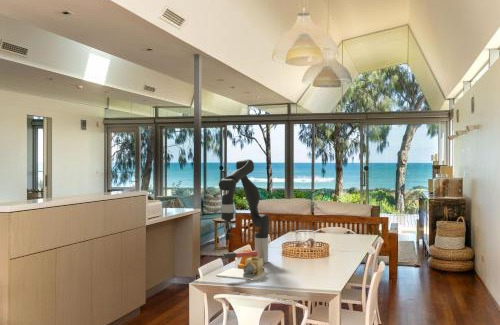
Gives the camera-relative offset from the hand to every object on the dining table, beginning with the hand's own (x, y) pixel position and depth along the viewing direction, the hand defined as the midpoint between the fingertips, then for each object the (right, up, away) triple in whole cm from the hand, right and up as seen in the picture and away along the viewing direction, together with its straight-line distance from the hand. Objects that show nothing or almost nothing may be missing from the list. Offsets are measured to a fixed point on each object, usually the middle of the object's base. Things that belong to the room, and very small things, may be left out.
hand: (227, 239), depth 309 cm
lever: (+8, -10, -2) cm, 13 cm away
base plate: (+9, -22, +4) cm, 24 cm away
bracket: (+12, -22, +22) cm, 34 cm away
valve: (+16, -22, +2) cm, 28 cm away
